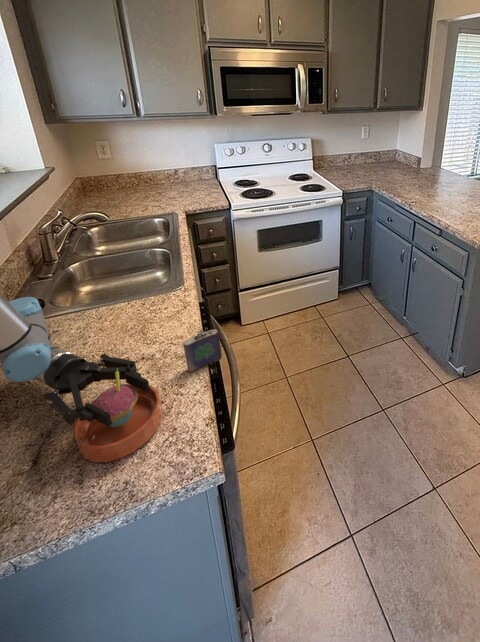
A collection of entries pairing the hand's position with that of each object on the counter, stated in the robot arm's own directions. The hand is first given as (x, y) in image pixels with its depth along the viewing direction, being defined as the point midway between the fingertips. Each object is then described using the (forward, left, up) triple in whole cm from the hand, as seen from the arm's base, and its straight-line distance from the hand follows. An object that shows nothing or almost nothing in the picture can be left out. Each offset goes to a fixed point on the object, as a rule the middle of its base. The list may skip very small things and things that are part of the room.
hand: (129, 402), depth 74 cm
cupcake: (-4, +3, -7) cm, 8 cm away
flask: (+13, +18, -10) cm, 24 cm away
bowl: (-4, +3, -10) cm, 11 cm away
